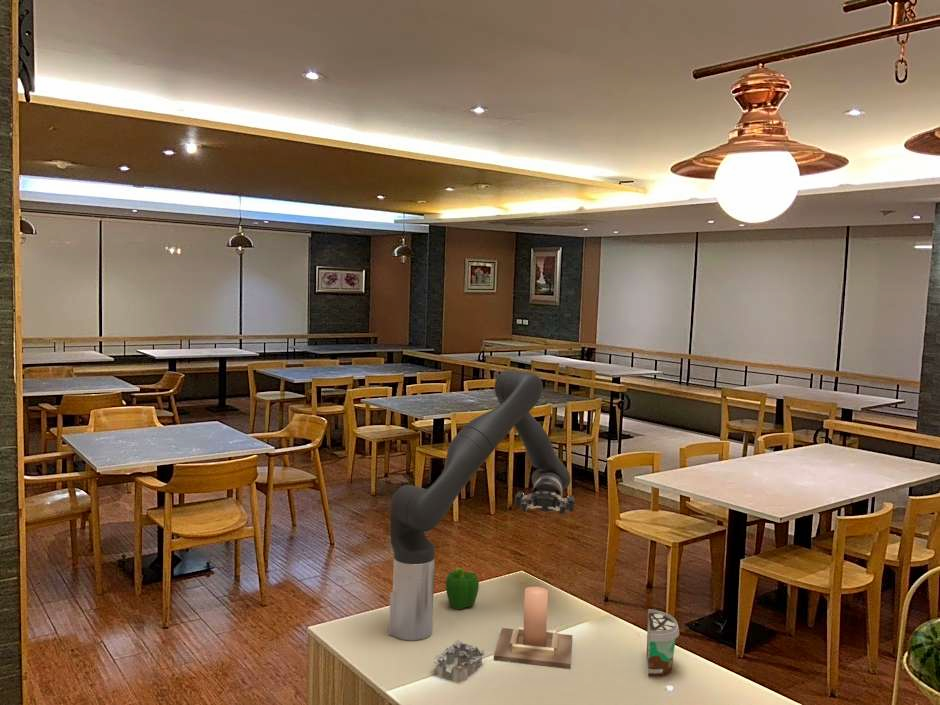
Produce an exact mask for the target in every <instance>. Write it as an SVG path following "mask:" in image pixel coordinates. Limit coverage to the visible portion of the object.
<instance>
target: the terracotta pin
mask: <svg viewBox="0 0 940 705" xmlns="http://www.w3.org/2000/svg"><path fill="white" fill-rule="evenodd" d="M548 596H549V590H548V589H547V588H545V587H541V586H528V587H525V589H524V605H523V606H524V608H523V609H524V610H523V627H524V630H523V645H530V646H539V647H546V630H548V629H547V627H548V624H547V623H548V622H547V621H548V602H549V601H548V598H549V597H548Z"/></svg>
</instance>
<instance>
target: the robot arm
mask: <svg viewBox="0 0 940 705" xmlns="http://www.w3.org/2000/svg"><path fill="white" fill-rule="evenodd" d="M543 386H544V385H543V381H542V378H541V377H540V376H538V374H535V373H533V372H528V371H521V370H520V371H519V370H512V369H506V370H503V371H501V372H500V373H499V374H498V375H497V377H496V378H495V382H494V393H495V396H496V398H497V400H498V402H499V405H498V406H496V407H494V408H493V409H490V410H489V411H487V412H485V413H483V414H481V415H479V416H477V417H475V418H472V420H470V421H468V422H467V423H466V424H465V425H464V426H462V428H461V429H460V431H459V432H457V434H456V435H455V436H454V438H452V440H451V441H450V443H449V446H448V447H447V452H446V459H445V464H444V468H443V470H442V472H441V474H440V475H439V476H438V477H437V479H436V480H435V481H434V482H433V483H432V484H431V485H430V486H429V487H428V488H423V487H420V486H416V485H412V484H405V485H402V486H401V487H399V488H398V489H397V490H396V491H395V492H394V493H393V497H392V498H391V503H390V510H389V522H390V524H389V526H390V527H389V529H390V530H389V531H390V532H389V533H390V545H391V547H392V550H393V572H392V573H393V577H392V591H391V592H390V594H389V618H388V619H389V621H388V622H389V624H388V625H389V626H388V635H389V636H394V637H395V638H397V639H399V640H404V641H420V640H423V639H427V638H429V637H430V636H431V635H432V633H433V623H434V618H433V616H434V615H433V614H434V589H435V588H434V585H435V582H434V581H435V554H436V552H435V545H434V544H433V542H432V541H431V540H430V539H429V538H428V537H427V535H426V534H425V532H426V533H427V532H430V531H432V530H433V529H434V528H436V527H437V526H438V525H439V524H440V522H441V521H442V520H443V519H444V517H445V516H446V514H447V513H448V511H450V510H449V509H450V508H451V507H452V505H453V503H454V502H455V501H456V498H458V496H459V494H460V493H461V492H462V490H463V489H464V487H465V486H466V485H467V484H468V482H469V481H470V480H471V479H472V477H473V476H474V474H476V472H477V471H478V469H480V468H481V466H482V465H483V464H484V463H485V462H486V461H487V460H488V458H489V457H490V456H491V455H492V454H493V453H494V451H495V449H496V448H497V447H498V445H499V444H500V443H501V442H502V441H503V439H505V438H506V436H507V435H508V434H509V433H510V431H511V430H512V429H513V428H515V430H516V432H517V433H518V436H520V439H521V441H522V444H523V446H524V448H525V451H526V453H527V456H528V458H529V462H530V464H531V465H532V467H533V468H535V469H536V470H535V471H533V472H532V475H531V484H532V485H533V488H532V490H531V493H529V494H525V493H524V492H523V491H517V493H516V494H515V496H514V507H515V508H520V510H522V512H523V513H524V512H525V513H526V512H527V510H528V509H530V510H531V509H532V510H533V509H537V510H539V511H541V512H545V513H546V512H553V511H556V512H558V511H559V515H561V516H563V515H564V514H565V513H567V511H569V512H575V497H574V495H573V494H570V495H568V496H567V497H563V490H565V489H567V488H568V487H570V484H571V482H572V481H571V480H572V479H571V474H570V472H569V470H568V468H567V467H566V465H565V464H564V463H563V462H562V461H561V459H560V458H559V457H558V456H557V454H556V452H555V450H554V446H553V444H552V442H551V438H550V436H549V435H548V433H547V431H546V430H545V429H544V428H543V427H542V425H541V424H540V423H539V422H538V421H537V420H536V418H535V417H534V415H532V414H531V413H530V412H531V410H532V409H533V408H535V406H536V405H537V404H538V403H539V401H540V399H541V397H542V394H543V389H544V387H543Z"/></svg>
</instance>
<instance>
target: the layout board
mask: <svg viewBox="0 0 940 705" xmlns="http://www.w3.org/2000/svg"><path fill="white" fill-rule="evenodd" d="M523 630H524V626H516V628H507V627H502V628H501V629H500V633H499V636H498V640H497V644H496V647H495V650H494V654H493V661H498V660H500V661H499V662H507V661H510V663H515V662H519V663H518V664H524V663H526V664H525V665H533V664H534V666H535V665H536V666H542V667H544V666H545V667H553V668H562V669H569V670H570V669H571V664H572V663H571V661H572V648H573V647H572V646H573V635H572V634H567V633H566V634H565V633H558V632H557V630H555V629H554V630H552V629H551V630H550V629H547V630H546V647H539V646H530V645H523Z"/></svg>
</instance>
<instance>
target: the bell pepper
mask: <svg viewBox="0 0 940 705" xmlns="http://www.w3.org/2000/svg"><path fill="white" fill-rule="evenodd" d="M445 579H446V581H445V590H446V591H445V592H446V595H447V596H446V597H447V601H448V603H449V605H450V606H451V607H452V608H453V609H457V610H461V609H466V608H472V606H473V605H474V603H475V602H476V599H477V596H478V592H479V587H480V582H479V579H478V576H477V574H476V572H467V571H465V570H463V568H462V567H460V566H459V567H456V568H455V569H454V570H453V571H449V572H448V575H447V577H446V578H445Z"/></svg>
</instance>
